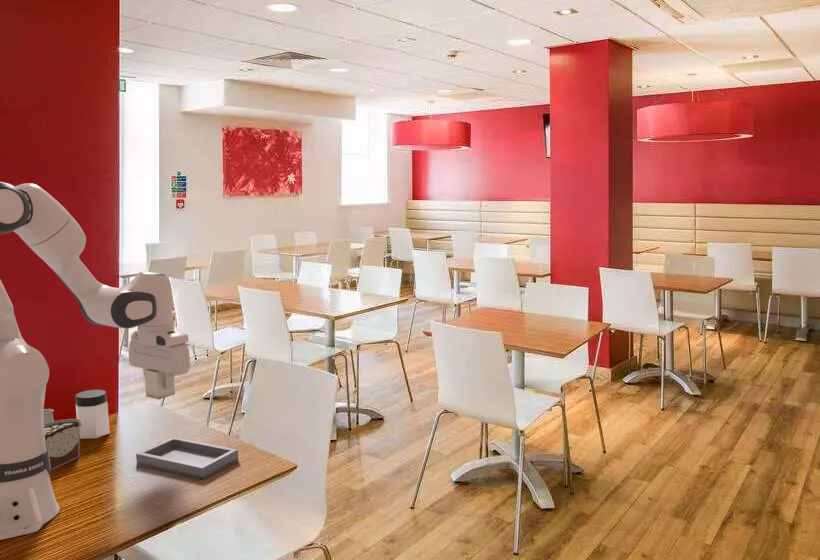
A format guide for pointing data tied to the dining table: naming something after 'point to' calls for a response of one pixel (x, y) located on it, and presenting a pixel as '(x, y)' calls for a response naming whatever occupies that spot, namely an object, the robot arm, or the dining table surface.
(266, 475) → the dining table surface
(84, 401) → the jar
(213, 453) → the tray
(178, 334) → the robot arm
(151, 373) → the cup
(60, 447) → the food container
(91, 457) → the dining table surface
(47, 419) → the flask
